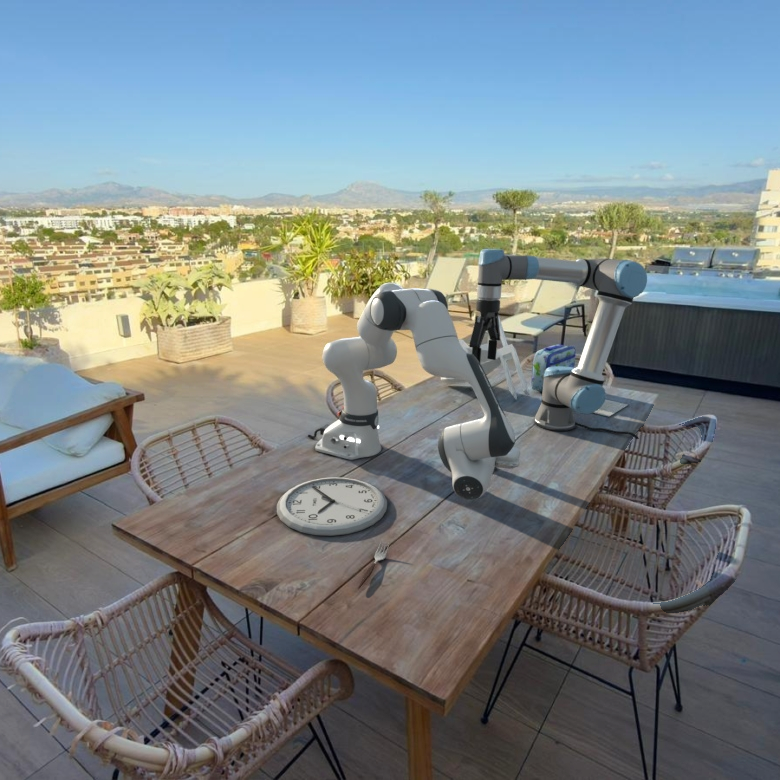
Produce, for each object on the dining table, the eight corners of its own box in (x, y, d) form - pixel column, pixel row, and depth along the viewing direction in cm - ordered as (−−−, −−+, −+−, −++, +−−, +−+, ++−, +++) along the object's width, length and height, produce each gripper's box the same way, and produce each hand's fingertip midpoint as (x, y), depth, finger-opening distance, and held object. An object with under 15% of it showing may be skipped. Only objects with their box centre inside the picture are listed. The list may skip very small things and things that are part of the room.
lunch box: (547, 397, 237) (552, 352, 231) (526, 391, 245) (531, 348, 238) (574, 386, 255) (580, 344, 249) (554, 381, 262) (559, 340, 256)
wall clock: (392, 527, 129) (268, 531, 127) (391, 533, 130) (269, 537, 127) (383, 473, 158) (282, 475, 155) (383, 478, 158) (282, 480, 156)
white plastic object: (461, 429, 252) (437, 405, 227) (444, 352, 274) (420, 323, 250) (535, 404, 240) (518, 377, 215) (510, 326, 262) (492, 293, 237)
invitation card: (608, 416, 214) (573, 407, 224) (608, 416, 214) (573, 408, 224) (628, 404, 229) (594, 396, 238) (628, 405, 229) (594, 397, 238)
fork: (352, 589, 110) (352, 581, 109) (380, 547, 124) (380, 540, 123) (364, 592, 109) (364, 583, 108) (390, 550, 123) (390, 542, 123)
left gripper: (519, 456, 134) (523, 436, 147) (441, 444, 140) (452, 426, 152) (517, 478, 136) (521, 457, 149) (440, 466, 142) (450, 446, 154)
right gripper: (492, 294, 179) (487, 354, 186) (461, 302, 159) (457, 369, 165) (513, 296, 175) (507, 357, 182) (484, 304, 155) (479, 373, 162)
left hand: (485, 441), depth 150 cm, fingers open, 8 cm apart
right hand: (483, 363), depth 174 cm, fingers open, 13 cm apart
